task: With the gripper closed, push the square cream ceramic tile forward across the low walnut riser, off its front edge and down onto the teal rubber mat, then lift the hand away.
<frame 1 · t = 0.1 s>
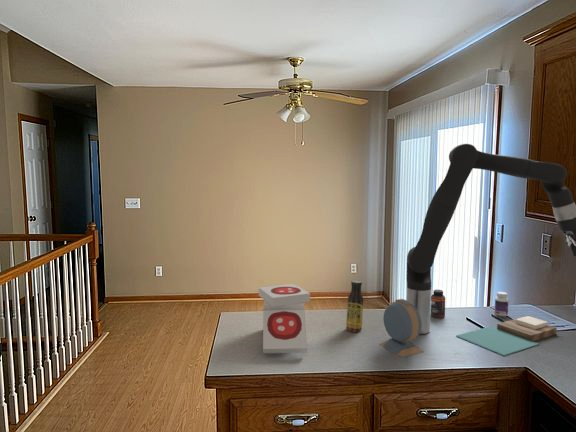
pizza boxes: (284, 342, 161), on the kitchen counter
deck: (526, 331, 171), on the kitchen counter
supplement bottle: (437, 316, 190), on the kitchen counter
mat: (496, 340, 162), on the kitchen counter
tile: (531, 322, 172), point 3 cm above the kitchen counter, touching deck
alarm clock: (401, 348, 156), on the kitchen counter
sauce bottle: (354, 330, 173), on the kitchen counter
pill bottle: (500, 314, 192), on the kitchen counter
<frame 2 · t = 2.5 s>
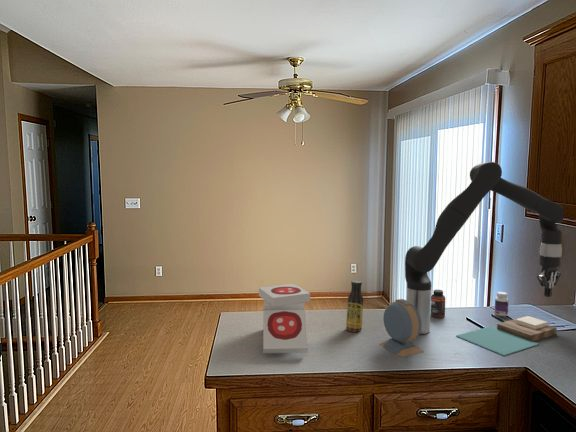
hand: (547, 296, 176), 12 cm above the kitchen counter, tool pointing down, fingers closed
nothing on the kitchen counter moved.
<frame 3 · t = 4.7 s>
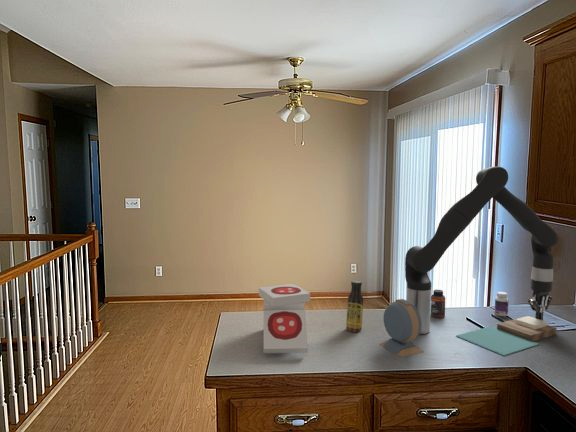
hand: (538, 320, 175), 3 cm above the kitchen counter, tool pointing down, fingers closed
tile: (531, 322, 172), point 3 cm above the kitchen counter, touching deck, gripper
everything else where it was.
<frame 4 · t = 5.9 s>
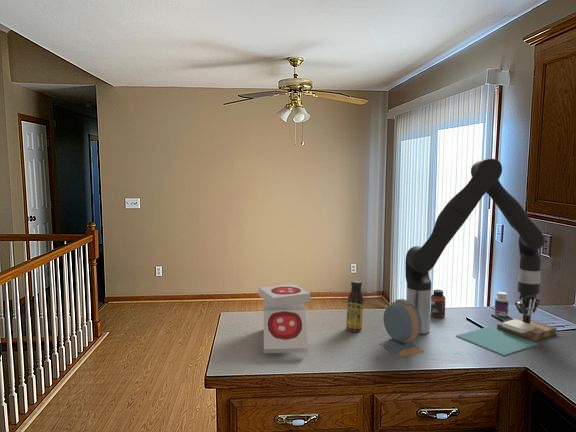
hand: (526, 323, 171), 3 cm above the kitchen counter, tool pointing down, fingers closed
tile: (518, 326, 168), point 3 cm above the kitchen counter, touching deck, gripper
everything else where it was.
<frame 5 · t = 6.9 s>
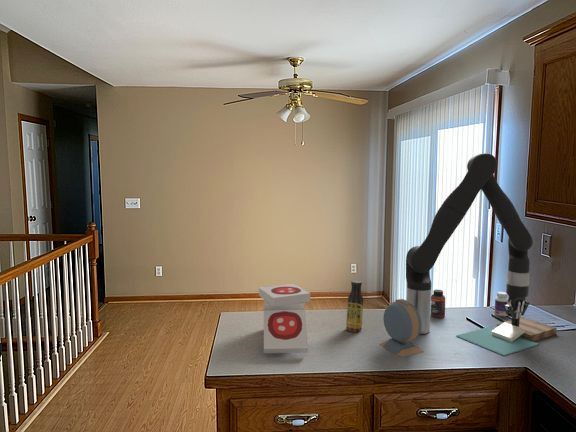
hand: (515, 326, 168), 3 cm above the kitchen counter, tool pointing down, fingers closed
tile: (507, 331, 165), point 2 cm above the kitchen counter, tilted 16°, touching gripper
everything else where it was.
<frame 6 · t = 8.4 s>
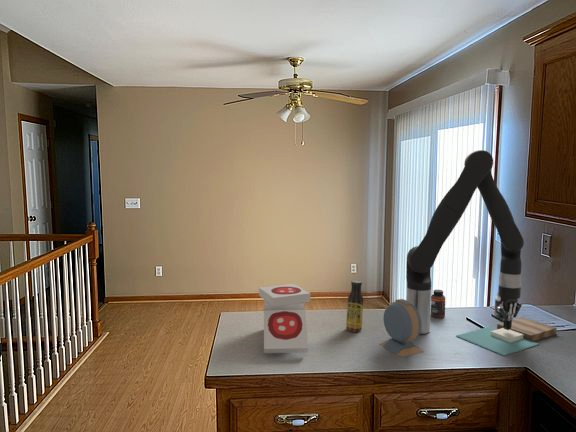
hand: (507, 329, 165), 3 cm above the kitchen counter, tool pointing down, fingers closed
tile: (506, 334, 165), point 1 cm above the kitchen counter, touching mat
everything else where it was.
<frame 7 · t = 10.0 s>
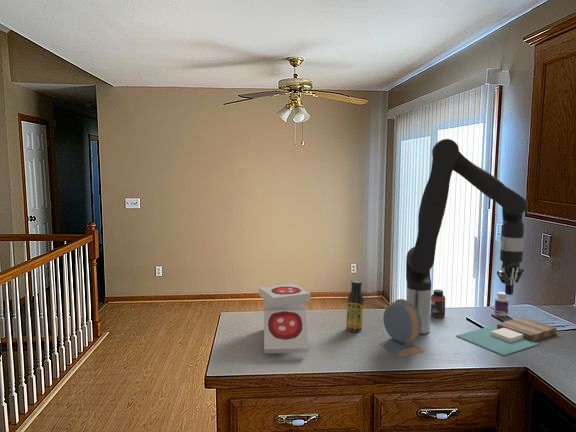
hand: (509, 294, 164), 17 cm above the kitchen counter, tool pointing down, fingers closed
nothing on the kitchen counter moved.
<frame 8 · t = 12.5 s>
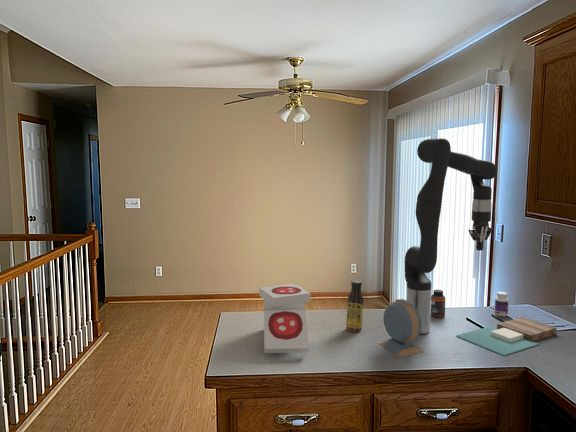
hand: (479, 250, 187), 29 cm above the kitchen counter, tool pointing down, fingers closed
nothing on the kitchen counter moved.
at the end: tile inside the target area (5.6 cm from its centre), point 1.2 cm above the kitchen counter; tile touching mat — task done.
